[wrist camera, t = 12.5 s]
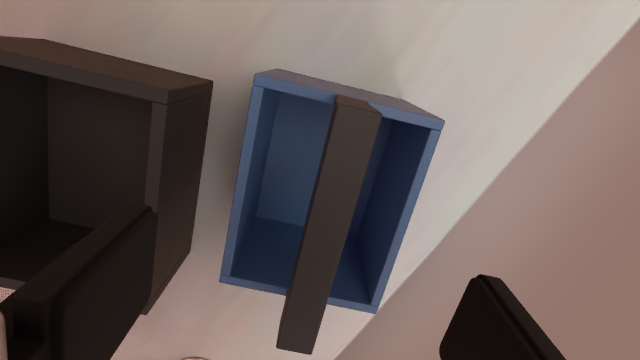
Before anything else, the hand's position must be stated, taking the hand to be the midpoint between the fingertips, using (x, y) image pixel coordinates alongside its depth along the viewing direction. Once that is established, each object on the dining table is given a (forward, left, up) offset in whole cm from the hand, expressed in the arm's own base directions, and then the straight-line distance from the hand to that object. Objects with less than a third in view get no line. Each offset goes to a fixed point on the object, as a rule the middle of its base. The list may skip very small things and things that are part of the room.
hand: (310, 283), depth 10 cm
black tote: (+3, -13, -15) cm, 20 cm away
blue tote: (+1, +1, -15) cm, 15 cm away
